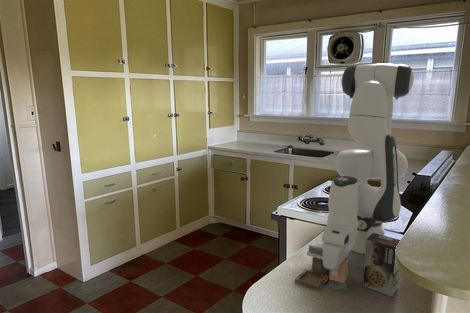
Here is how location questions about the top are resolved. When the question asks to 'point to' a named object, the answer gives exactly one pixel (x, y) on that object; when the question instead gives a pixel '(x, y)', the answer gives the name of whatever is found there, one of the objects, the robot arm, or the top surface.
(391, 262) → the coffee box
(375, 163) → the robot arm
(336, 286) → the slate coaster
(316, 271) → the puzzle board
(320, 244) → the sliding lid
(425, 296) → the top surface
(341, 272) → the terracotta block
